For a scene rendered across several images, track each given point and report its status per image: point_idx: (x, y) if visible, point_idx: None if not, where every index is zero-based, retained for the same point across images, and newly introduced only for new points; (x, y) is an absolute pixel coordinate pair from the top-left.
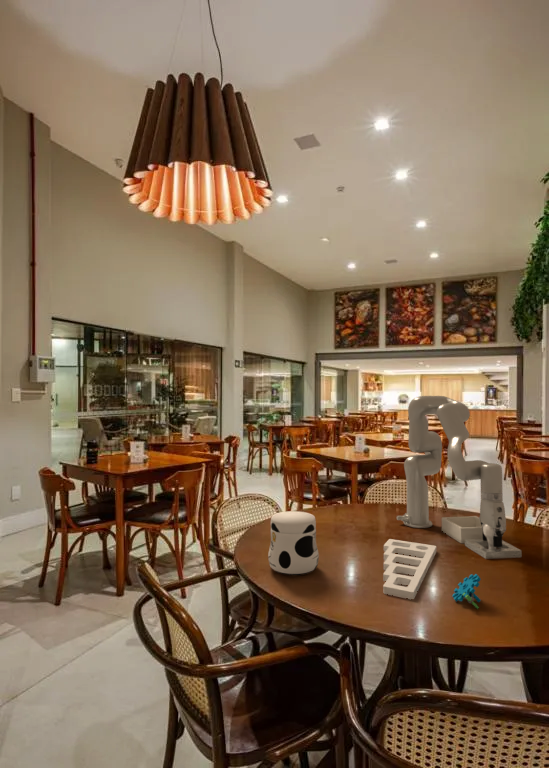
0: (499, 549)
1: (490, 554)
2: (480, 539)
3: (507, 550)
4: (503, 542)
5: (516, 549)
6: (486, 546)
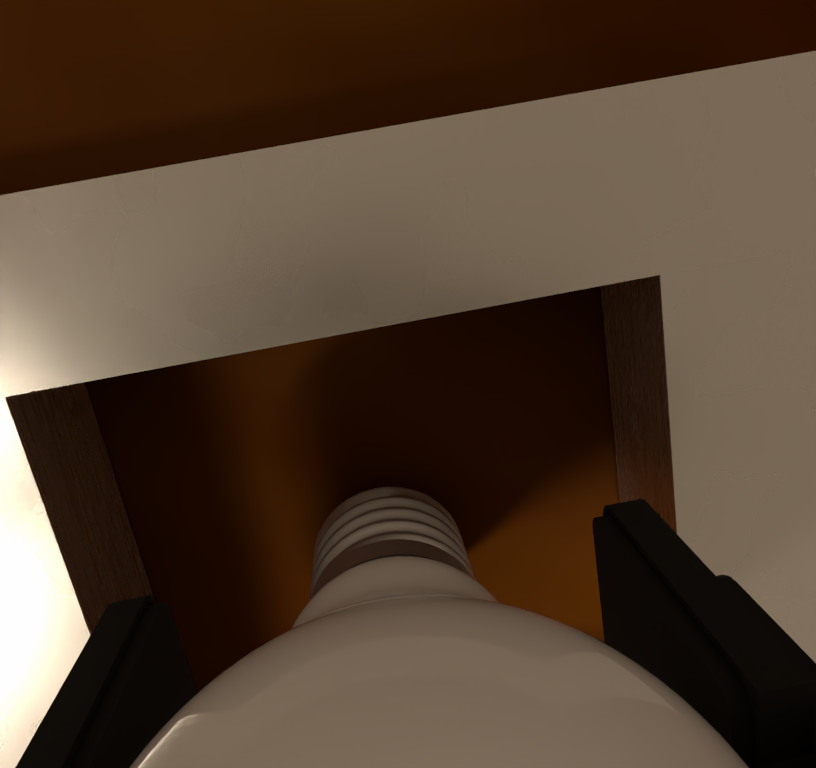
0: (716, 572)
1: None
2: (3, 745)
3: (798, 425)
4: (175, 261)
5: (756, 158)
6: (136, 571)
